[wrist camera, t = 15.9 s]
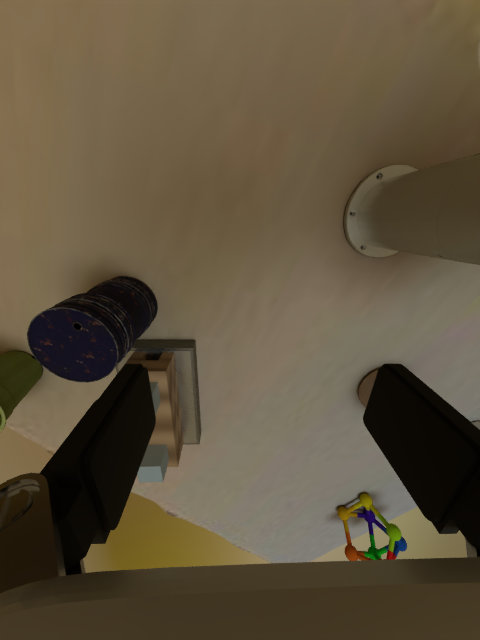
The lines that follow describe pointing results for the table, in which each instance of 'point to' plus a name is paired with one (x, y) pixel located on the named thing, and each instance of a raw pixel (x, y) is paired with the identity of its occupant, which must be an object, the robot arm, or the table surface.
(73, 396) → the table surface
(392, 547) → the educational toy
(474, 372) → the table surface
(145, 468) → the block
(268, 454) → the table surface
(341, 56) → the table surface
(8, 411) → the plant pot
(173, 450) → the wooden block carrier
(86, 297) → the storage jar
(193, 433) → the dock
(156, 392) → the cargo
